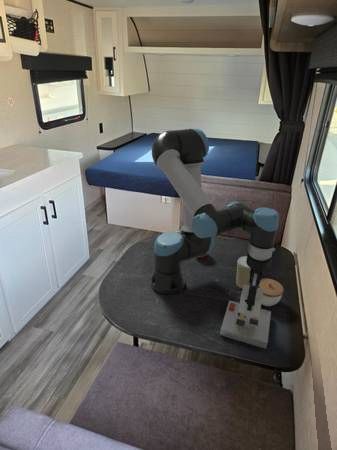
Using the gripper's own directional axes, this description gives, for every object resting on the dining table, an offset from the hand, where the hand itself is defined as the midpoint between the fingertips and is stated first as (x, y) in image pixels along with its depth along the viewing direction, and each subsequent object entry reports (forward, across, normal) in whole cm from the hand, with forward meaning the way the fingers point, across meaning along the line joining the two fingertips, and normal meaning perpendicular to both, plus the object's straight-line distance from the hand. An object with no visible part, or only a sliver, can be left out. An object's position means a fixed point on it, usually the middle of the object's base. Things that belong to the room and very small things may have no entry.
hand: (249, 309), depth 107 cm
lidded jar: (+9, +17, -6) cm, 20 cm away
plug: (+3, 0, 0) cm, 3 cm away
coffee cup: (+8, +25, +4) cm, 27 cm away
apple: (+8, +39, +28) cm, 49 cm away
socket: (+8, 0, 0) cm, 8 cm away
